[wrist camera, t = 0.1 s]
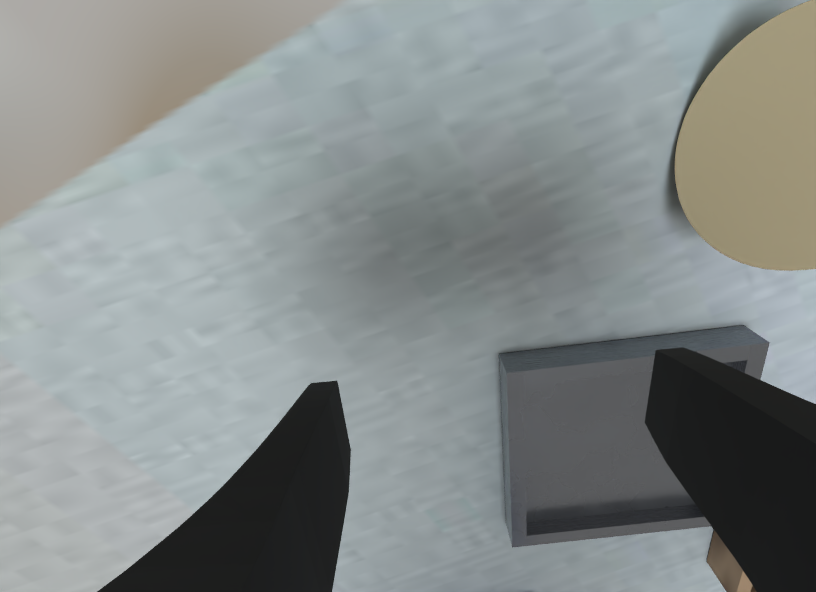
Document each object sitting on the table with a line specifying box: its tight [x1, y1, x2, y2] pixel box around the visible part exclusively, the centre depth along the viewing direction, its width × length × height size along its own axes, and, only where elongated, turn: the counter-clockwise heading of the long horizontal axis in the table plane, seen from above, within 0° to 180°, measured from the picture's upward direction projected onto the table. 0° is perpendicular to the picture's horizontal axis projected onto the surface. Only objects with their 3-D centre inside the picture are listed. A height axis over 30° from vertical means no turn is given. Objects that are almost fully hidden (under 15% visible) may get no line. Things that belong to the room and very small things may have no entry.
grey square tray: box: [499, 325, 769, 547], centre depth 23 cm, size 12×12×2 cm
